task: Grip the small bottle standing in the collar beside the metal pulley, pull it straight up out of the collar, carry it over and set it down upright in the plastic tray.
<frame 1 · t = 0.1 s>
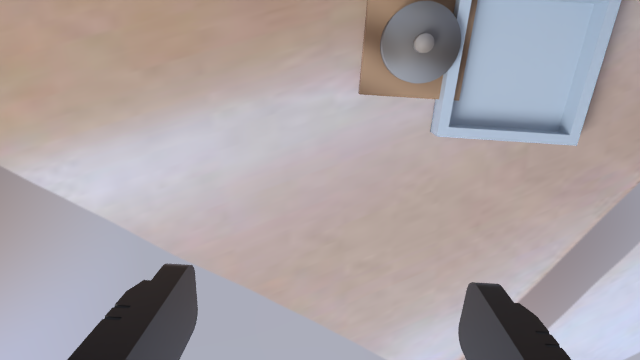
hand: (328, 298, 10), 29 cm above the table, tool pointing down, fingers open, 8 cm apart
tray: (511, 67, 36), on the table
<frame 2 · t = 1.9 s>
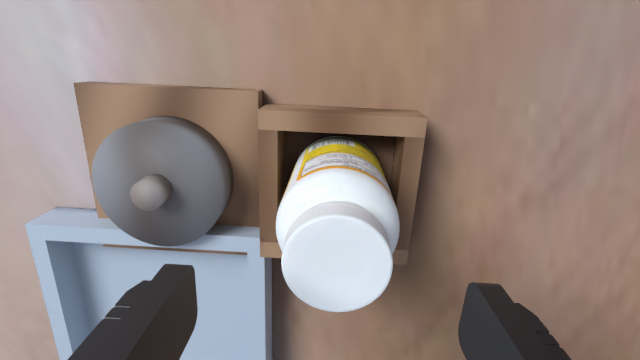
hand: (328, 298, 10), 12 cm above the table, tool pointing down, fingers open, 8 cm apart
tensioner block: (337, 178, 22), on the table
supplement bottle: (337, 176, 22), resting in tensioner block
tray: (173, 303, 25), on the table
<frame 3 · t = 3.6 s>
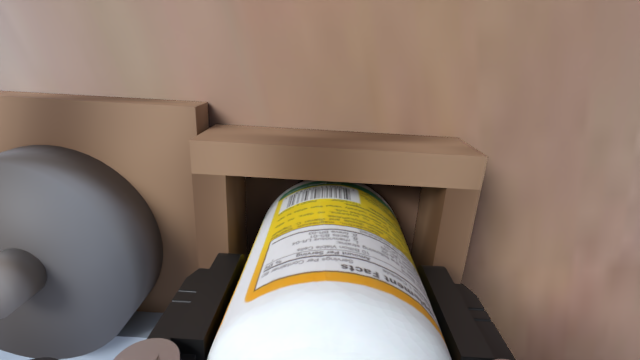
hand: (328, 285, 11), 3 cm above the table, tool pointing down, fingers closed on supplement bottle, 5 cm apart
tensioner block: (329, 238, 14), on the table
supplement bottle: (329, 235, 14), resting in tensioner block, touching gripper
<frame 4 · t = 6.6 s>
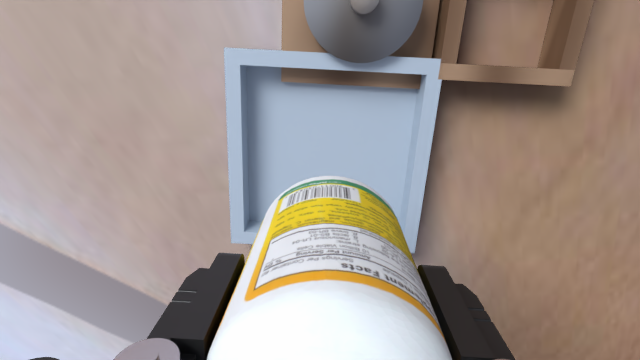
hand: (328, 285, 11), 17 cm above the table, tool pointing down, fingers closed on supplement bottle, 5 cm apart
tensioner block: (500, 14, 24), on the table
supplement bottle: (329, 235, 14), point 14 cm above the table, touching gripper
tray: (328, 150, 27), on the table
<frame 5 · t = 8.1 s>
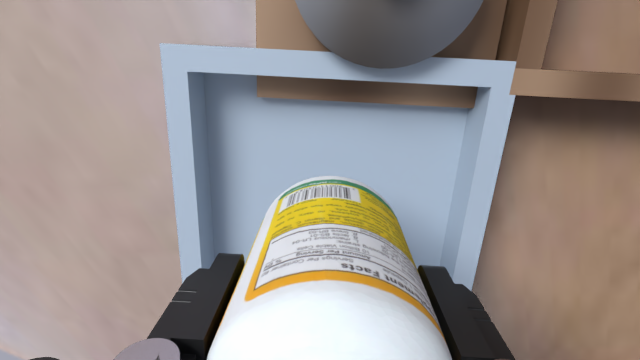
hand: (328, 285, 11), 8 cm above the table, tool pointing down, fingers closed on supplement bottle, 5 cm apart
supplement bottle: (329, 235, 14), point 5 cm above the table, touching gripper
tray: (330, 196, 18), on the table
when the fingers open (5 cm above the table, at t = 9.6 s): supplement bottle drops 1 cm, resting on tray.
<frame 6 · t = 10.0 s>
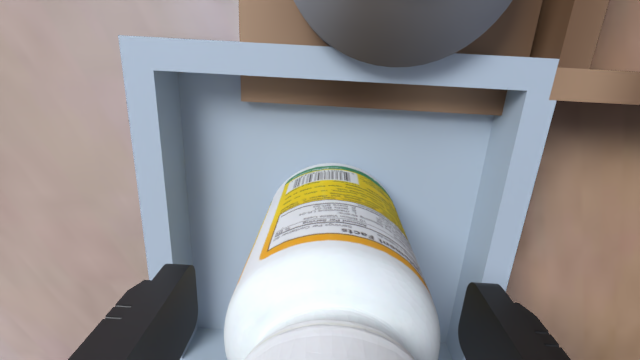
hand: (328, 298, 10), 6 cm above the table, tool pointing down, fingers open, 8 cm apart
supplement bottle: (331, 218, 15), resting on tray
tray: (328, 217, 16), on the table
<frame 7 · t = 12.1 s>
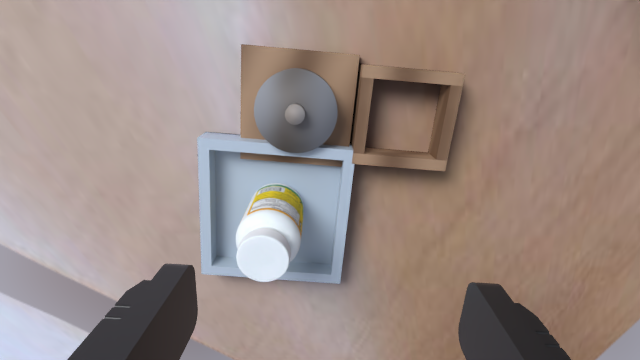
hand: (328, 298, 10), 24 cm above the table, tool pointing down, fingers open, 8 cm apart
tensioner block: (400, 116, 33), on the table
supplement bottle: (277, 206, 36), resting on tray
tray: (277, 205, 36), on the table
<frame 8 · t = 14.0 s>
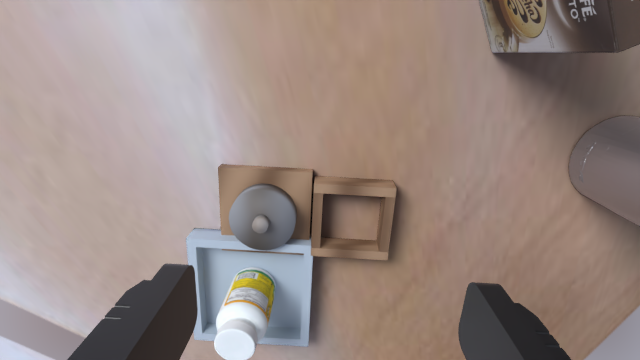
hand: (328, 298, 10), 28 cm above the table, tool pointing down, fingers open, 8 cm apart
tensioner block: (350, 213, 40), on the table
supplement bottle: (254, 283, 43), resting on tray
tray: (254, 282, 44), on the table
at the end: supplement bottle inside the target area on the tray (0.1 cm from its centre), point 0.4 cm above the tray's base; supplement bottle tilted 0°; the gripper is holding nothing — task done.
